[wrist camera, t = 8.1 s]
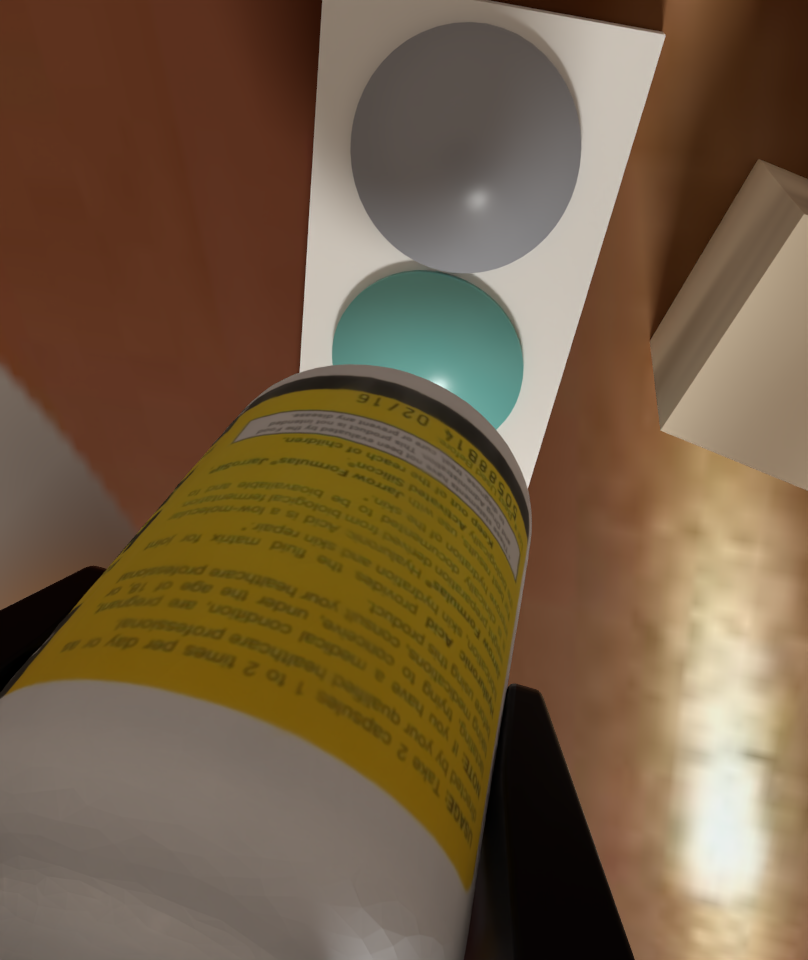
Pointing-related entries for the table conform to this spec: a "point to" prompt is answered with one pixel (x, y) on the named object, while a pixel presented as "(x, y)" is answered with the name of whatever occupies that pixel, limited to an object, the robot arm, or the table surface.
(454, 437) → the supplement bottle
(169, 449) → the table surface
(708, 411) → the beech block
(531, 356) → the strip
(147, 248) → the table surface
